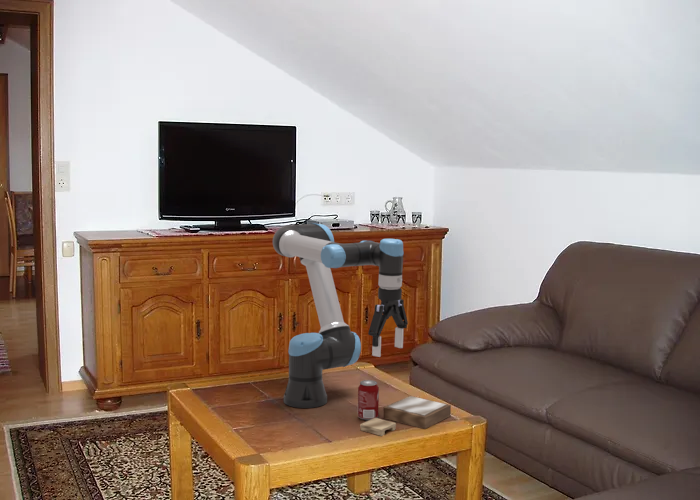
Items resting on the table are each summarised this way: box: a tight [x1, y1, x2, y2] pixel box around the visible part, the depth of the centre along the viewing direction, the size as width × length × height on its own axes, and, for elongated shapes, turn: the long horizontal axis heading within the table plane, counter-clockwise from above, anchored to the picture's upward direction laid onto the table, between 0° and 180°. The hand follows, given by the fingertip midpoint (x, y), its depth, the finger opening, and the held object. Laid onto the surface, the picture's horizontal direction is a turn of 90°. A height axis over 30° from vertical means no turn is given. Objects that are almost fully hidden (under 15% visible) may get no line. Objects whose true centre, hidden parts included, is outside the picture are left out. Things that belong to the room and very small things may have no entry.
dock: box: [382, 395, 452, 430], centre depth 253 cm, size 16×16×4 cm
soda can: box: [357, 379, 380, 422], centre depth 251 cm, size 7×7×12 cm
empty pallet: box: [359, 417, 397, 437], centre depth 241 cm, size 8×8×2 cm
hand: (387, 351), depth 249 cm, fingers open, 13 cm apart
